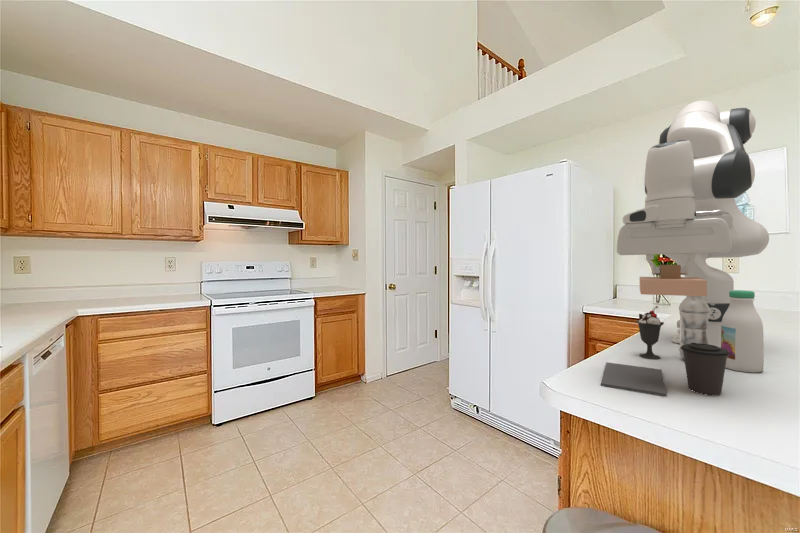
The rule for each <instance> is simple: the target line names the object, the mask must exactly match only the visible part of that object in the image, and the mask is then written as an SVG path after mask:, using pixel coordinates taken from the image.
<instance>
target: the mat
mask: <svg viewBox="0 0 800 533" xmlns="http://www.w3.org/2000/svg"><path fill="white" fill-rule="evenodd" d="M600 386H601V387H605V388H612V389H619V390H625V391H631V392H636V393H642V394H648V395H653V396H660V397H667V390H666V386H665V381H664V375H663V370H662V369H661V368H653V367H646V366H645V367H644V366H638V365H637V366H636V365H629V364H624V363H617V362H616V363H614V362H606V363H605V366H604V369H603V374H602V378H601V382H600Z"/></svg>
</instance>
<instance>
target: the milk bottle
mask: <svg viewBox="0 0 800 533" xmlns="http://www.w3.org/2000/svg"><path fill="white" fill-rule="evenodd" d="M755 295H756V294H755V292H754V291H753V290H742V289H741V290H735V289H734V290H732V291H729V296H730V298H729V299H730V305H729V307H728V309H727V311H726V312H725V314H724V316H723V318H722V323H721V348H723V349H726V350H728V352H729V353H730V355H728V356H727V360H726V366H725V369H726V368H727V370H729V369H730V370H732V371H736V372H743V373H751V374H754V373H757V374H758V373H762V372H763V371H764V361H765V360H764V351H765V350H764V349H765V348H764V343H765V342H764V324H763V321H762V318H761V316H760V315H759V313H758V312H757V310H756V308H755V304H754V301H755V300H756V299H755Z"/></svg>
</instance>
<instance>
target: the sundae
mask: <svg viewBox="0 0 800 533" xmlns="http://www.w3.org/2000/svg"><path fill="white" fill-rule="evenodd" d="M658 308H659V306H657V305H655V307H654V308H652V310H649V312H645V313H644V314H642V313H638V320H635V323H637V324H638V329H639V334H640V339H641V341H642V342H643V343H644V344H645V345H646V347H647V348H646V352H645V353H640V354H639V357H641V358H643V359H649V360H659V359H661V357H660V356H659V355H656V354H655V353H653V352H654V351H653V345H655V344H656V343H658V342H659V338H660V332H661V327H662V326H663V325H664V324H665V323H664V322H663V321H661V320H660V318H659V317H657V316H658V314H657V313H655V310H656V309H658Z"/></svg>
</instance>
